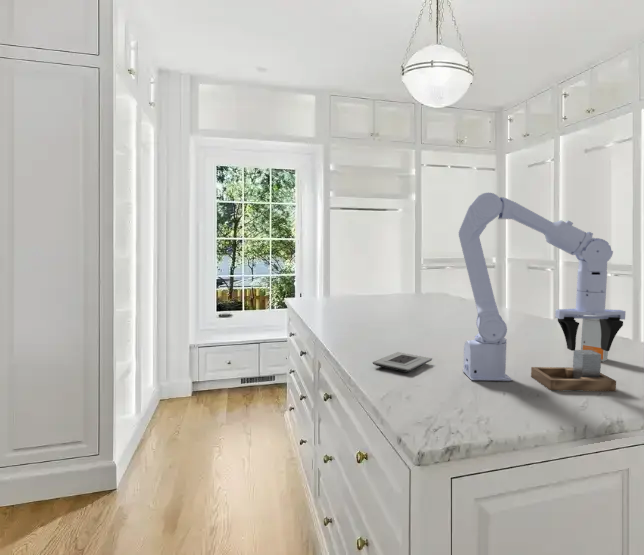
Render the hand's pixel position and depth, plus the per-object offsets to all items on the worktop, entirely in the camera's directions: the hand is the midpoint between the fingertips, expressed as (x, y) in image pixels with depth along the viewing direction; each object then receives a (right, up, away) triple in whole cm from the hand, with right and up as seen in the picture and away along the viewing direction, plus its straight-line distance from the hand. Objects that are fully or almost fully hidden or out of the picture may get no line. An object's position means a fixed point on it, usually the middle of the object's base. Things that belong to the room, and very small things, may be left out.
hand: (588, 349), depth 100 cm
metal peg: (0, -8, +1) cm, 8 cm away
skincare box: (+15, -6, +22) cm, 28 cm away
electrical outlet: (-40, -8, +16) cm, 43 cm away
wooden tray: (-3, -8, +1) cm, 9 cm away
